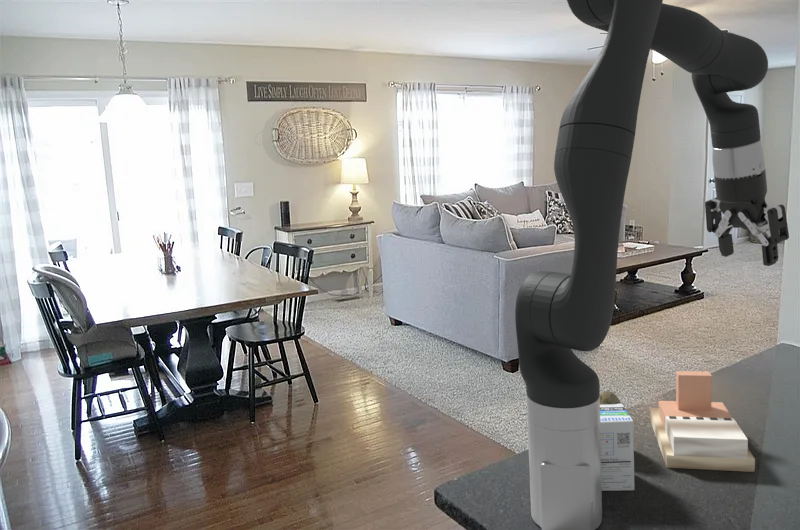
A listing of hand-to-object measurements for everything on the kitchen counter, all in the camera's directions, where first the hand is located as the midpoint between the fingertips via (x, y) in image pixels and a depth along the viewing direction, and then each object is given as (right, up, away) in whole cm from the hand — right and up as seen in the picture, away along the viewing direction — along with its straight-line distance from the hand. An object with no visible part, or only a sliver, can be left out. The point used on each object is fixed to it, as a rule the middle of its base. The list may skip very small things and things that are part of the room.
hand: (748, 259), depth 108 cm
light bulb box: (-32, -33, -16) cm, 49 cm away
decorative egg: (-27, -31, -7) cm, 42 cm away
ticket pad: (-12, -30, -6) cm, 33 cm away
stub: (-12, -27, -5) cm, 30 cm away
